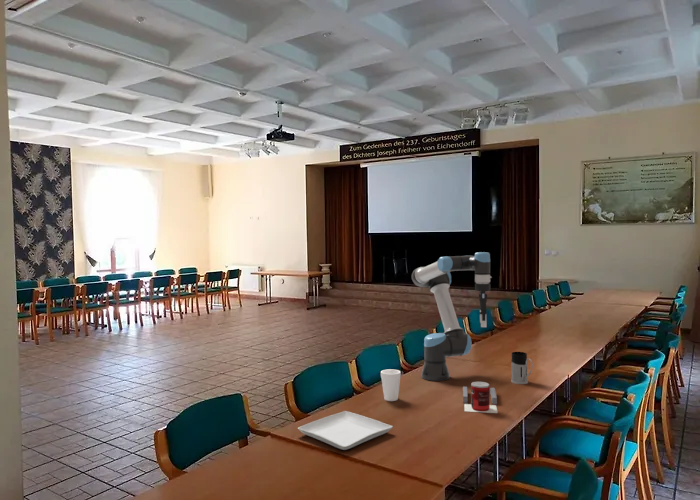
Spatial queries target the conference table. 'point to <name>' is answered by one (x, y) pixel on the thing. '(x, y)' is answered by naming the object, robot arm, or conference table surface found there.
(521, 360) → the white and black mug
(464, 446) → the conference table surface
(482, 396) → the canned food
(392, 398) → the foam cup
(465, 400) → the chute
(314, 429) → the square plate
